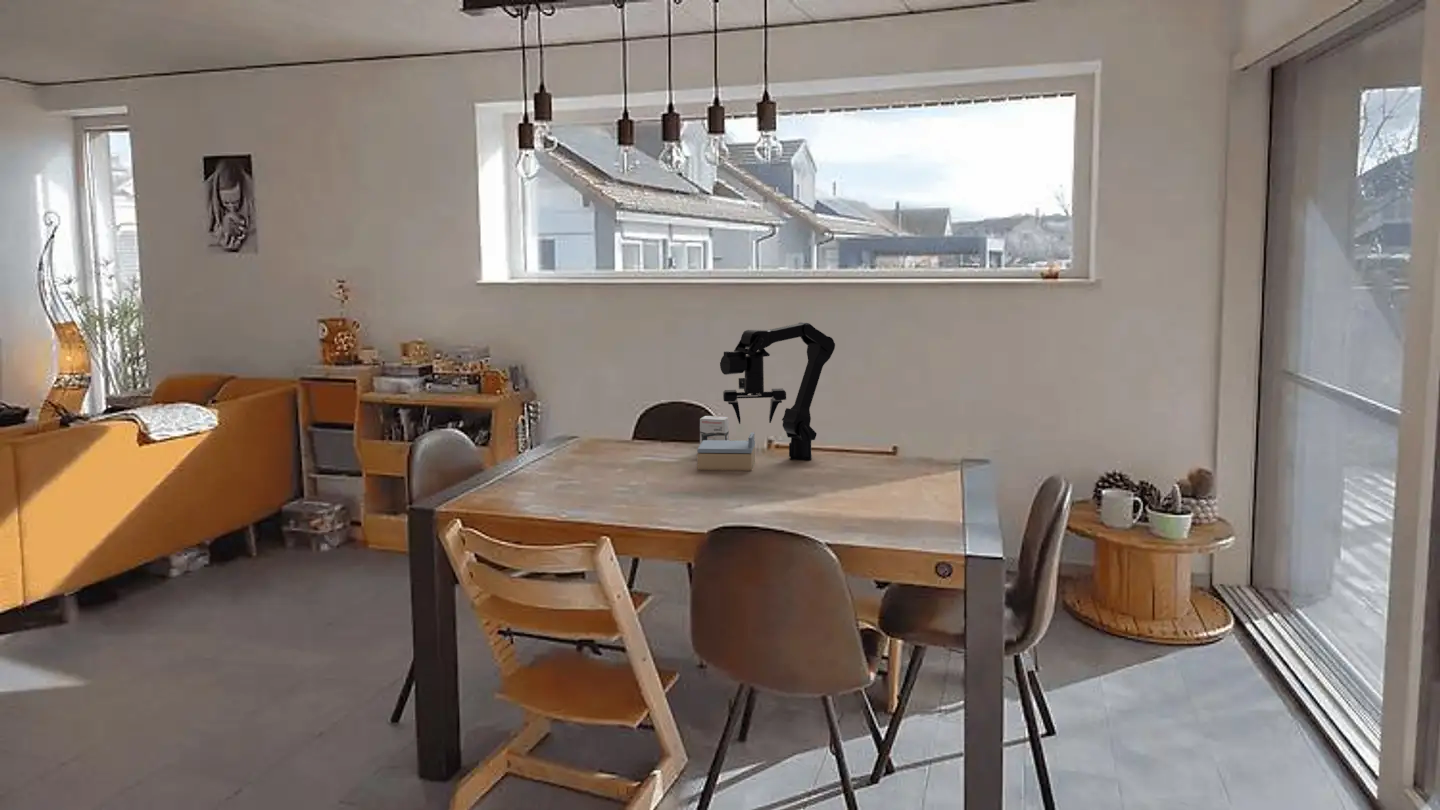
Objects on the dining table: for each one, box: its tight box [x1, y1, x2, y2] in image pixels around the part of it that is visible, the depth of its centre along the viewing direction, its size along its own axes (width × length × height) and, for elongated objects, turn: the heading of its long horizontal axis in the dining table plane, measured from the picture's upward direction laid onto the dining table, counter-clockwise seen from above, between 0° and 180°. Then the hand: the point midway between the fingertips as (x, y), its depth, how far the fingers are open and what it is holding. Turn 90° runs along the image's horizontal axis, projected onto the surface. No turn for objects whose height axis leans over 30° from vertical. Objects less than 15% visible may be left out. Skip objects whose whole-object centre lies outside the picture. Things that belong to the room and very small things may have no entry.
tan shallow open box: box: [697, 445, 756, 472], centre depth 316 cm, size 16×14×5 cm
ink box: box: [699, 415, 730, 445], centre depth 335 cm, size 8×5×12 cm, turn 73°
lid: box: [697, 431, 756, 454], centre depth 315 cm, size 16×14×4 cm
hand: (754, 423), depth 316 cm, fingers open, 9 cm apart
